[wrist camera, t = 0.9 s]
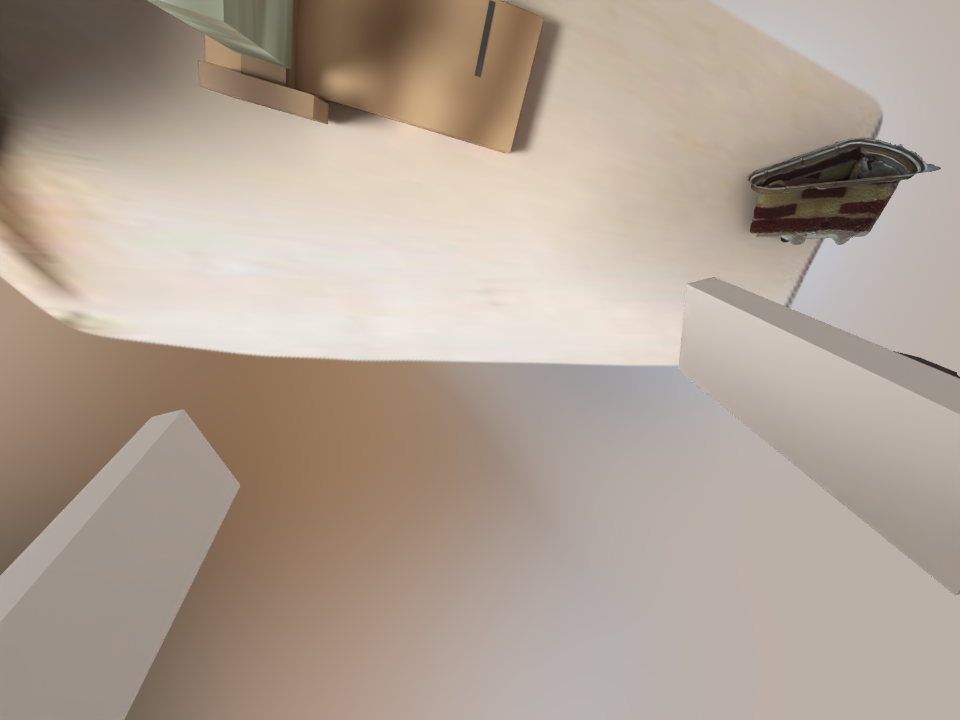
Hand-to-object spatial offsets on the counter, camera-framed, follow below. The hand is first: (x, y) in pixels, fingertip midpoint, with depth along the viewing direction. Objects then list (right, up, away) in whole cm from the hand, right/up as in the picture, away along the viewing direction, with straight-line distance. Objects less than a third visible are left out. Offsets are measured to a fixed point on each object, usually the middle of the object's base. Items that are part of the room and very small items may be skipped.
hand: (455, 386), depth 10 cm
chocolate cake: (+26, +16, +26) cm, 40 cm away
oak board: (-6, +22, +16) cm, 28 cm away
